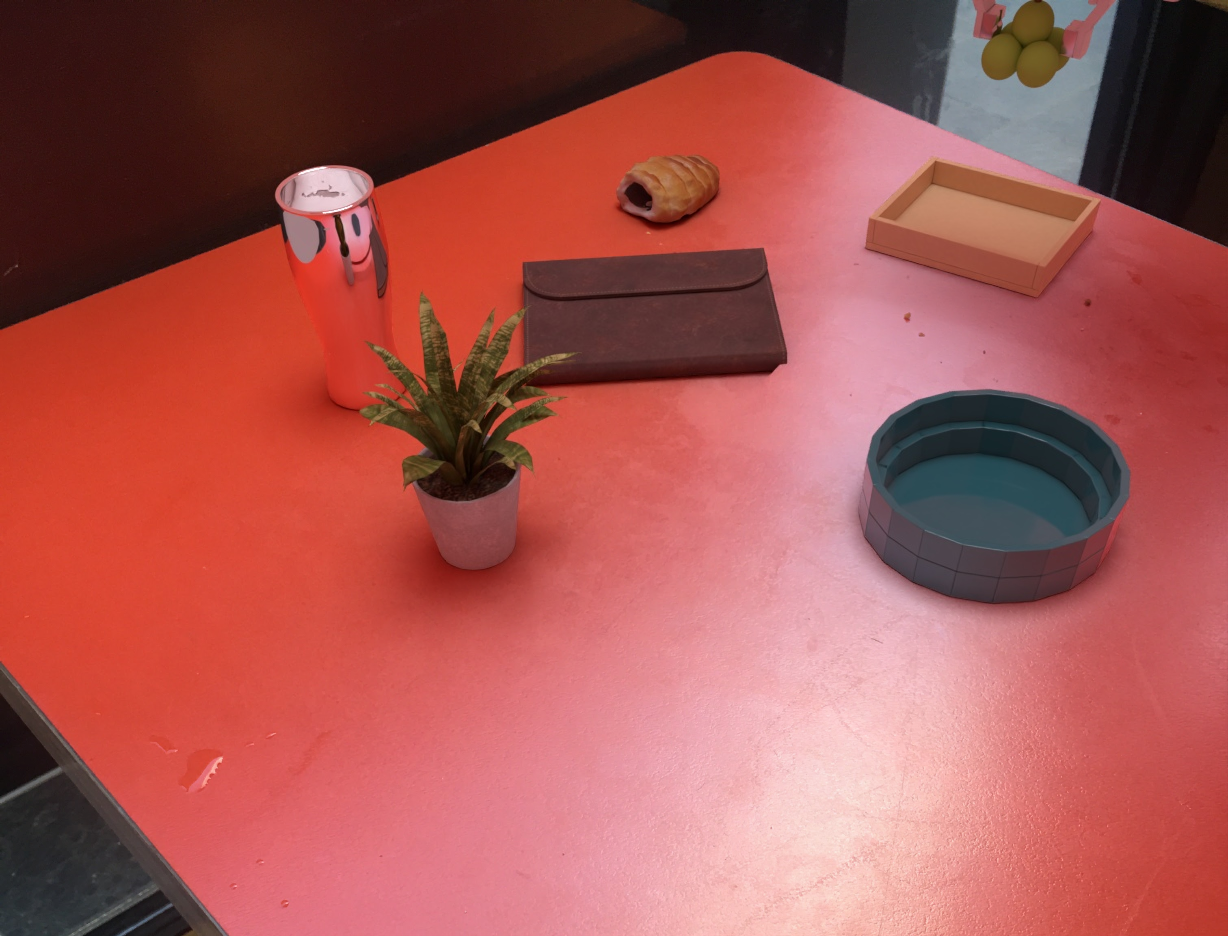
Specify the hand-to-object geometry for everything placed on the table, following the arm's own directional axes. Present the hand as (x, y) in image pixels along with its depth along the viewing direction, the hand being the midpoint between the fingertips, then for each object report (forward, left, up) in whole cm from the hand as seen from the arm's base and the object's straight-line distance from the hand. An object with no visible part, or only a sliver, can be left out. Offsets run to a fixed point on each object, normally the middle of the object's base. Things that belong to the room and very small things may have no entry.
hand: (1028, 45), depth 86 cm
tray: (+2, -6, -17) cm, 18 cm away
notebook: (+19, +19, -17) cm, 32 cm away
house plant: (+14, +48, -17) cm, 53 cm away
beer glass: (+33, +37, -17) cm, 53 cm away
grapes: (0, 0, -2) cm, 2 cm away
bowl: (-13, +28, -17) cm, 35 cm away
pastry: (+28, +2, -17) cm, 33 cm away
